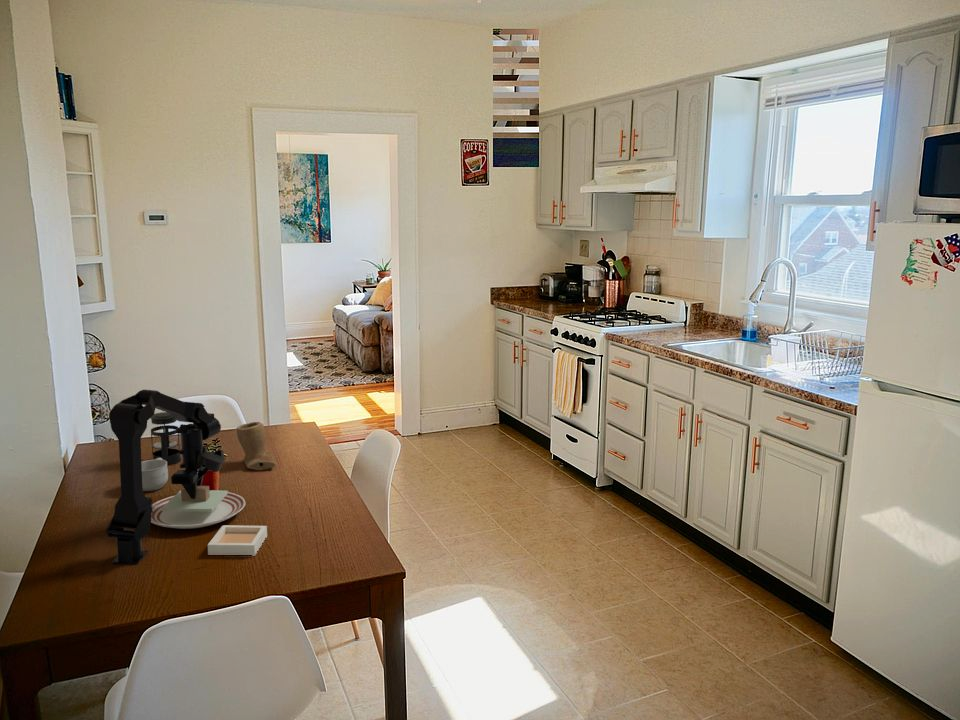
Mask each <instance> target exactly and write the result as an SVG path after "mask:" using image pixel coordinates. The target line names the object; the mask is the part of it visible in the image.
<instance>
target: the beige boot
mask: <svg viewBox="0 0 960 720" xmlns="http://www.w3.org/2000/svg"><path fill="white" fill-rule="evenodd" d="M265 429H266V428H265V425H264V424H263V423H262V422H260V421H252V422H248V423H243V424H240V425H238V426H237V427H236V434H237V435H236V436H237V439H238V441H239V444H240V446H241V448H242V450H243V452H244V457H243V462H244V464H245V465H246V467H247V469H251V470H255V471H265V470H270V469H272V468H274V467H276V466H277V463H276V460H275V458H274V457H273V455H272V454H271V453H270V452H266V439H267V437H266V430H265Z"/></svg>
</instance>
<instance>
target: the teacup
mask: <svg viewBox="0 0 960 720" xmlns="http://www.w3.org/2000/svg"><path fill="white" fill-rule="evenodd" d="M141 463H142V488H143V492H152V491H157V490H160V489H161V488H163V487H164V486H165V484H166V483H167V482H168V481H169V469H168V466H167V461H165V460H163V459H162V458H157V459H154V460H153V459H148V460H143V461H142V460H141Z"/></svg>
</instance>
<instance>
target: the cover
mask: <svg viewBox="0 0 960 720" xmlns="http://www.w3.org/2000/svg"><path fill="white" fill-rule="evenodd" d="M228 492H229V490H222V489H221V490H219V489H218V490H217V489H216V490H214V489H212V490H210V485H201V486H197V488H196V497H195V499H191V498H190V496H189V495H188V493H187V491H186V490H185V488H184V487H183V486H182V488H181V489H180V490H179V491H178V492H177V493H176V494H175V495H173V496H174V497H173V498H172V499H171V500H170V501H169V502H168V503H167V504H166V505H165V506H164V507H163V508H162V511H196V512H212V511H213V510H214V509H215V508H216V506H217V505H218V504H219V503H220V502H221V501H222V499H223V498H224V497H225V496H226V495H227V494H228Z"/></svg>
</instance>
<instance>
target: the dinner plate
mask: <svg viewBox="0 0 960 720" xmlns="http://www.w3.org/2000/svg"><path fill="white" fill-rule="evenodd" d="M174 496H175V495H171V496H168V497H166V498H163V499H159V500H158V501H156V502H153V503H152V510H153V513H151V516H152V517H151V524H154V525H156V526H159V527H164V528H170V529H177V530H178V529H180V530H187V529H189V530H190V529H191V530H192V529H200V528H204V527H209V526H213V525H215V524H218V523H219V524H220V523H221V522H224V521H226V520H228V519H231V518H232V517H234V516H235V515H238V514H239V513H240V512H241V511H242V510H243V509H244V508H245V507H246V500H245V499H244V497H243V496H241V495H239V494H236V493H233V492H230V491H228V494H227V495H226V496H225V497H224V498H223V499H222V501H221V502H220V503H219V504H218V505H217V506H216V508H215V509H214V510H213V511H212V512H196V511H162V508H163V507H164V506H165V505H166V504H167V503H168V502H169V501H170V500H171V499H172V498H173V497H174Z"/></svg>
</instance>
